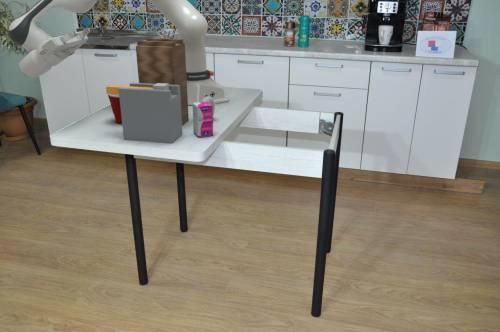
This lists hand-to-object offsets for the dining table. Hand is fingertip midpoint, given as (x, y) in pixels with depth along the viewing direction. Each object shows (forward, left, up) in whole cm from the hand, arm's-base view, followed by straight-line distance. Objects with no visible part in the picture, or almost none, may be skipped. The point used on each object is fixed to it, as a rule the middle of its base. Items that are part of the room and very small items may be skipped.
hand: (81, 31), depth 169 cm
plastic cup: (-12, 0, -35) cm, 37 cm away
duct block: (-17, +24, -35) cm, 45 cm away
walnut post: (-26, +10, -35) cm, 44 cm away
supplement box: (-34, +29, -35) cm, 57 cm away
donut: (-41, +15, -35) cm, 56 cm away
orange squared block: (-13, +21, -20) cm, 31 cm away
